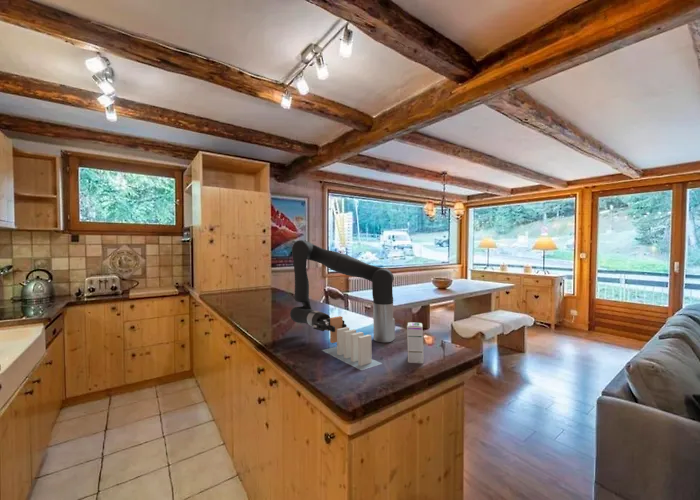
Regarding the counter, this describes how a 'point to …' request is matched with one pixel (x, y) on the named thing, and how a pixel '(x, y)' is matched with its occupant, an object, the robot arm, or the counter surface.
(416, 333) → the syrup box
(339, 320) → the domino
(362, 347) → the domino
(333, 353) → the board
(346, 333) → the domino
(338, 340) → the domino
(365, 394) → the counter surface
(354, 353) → the domino
